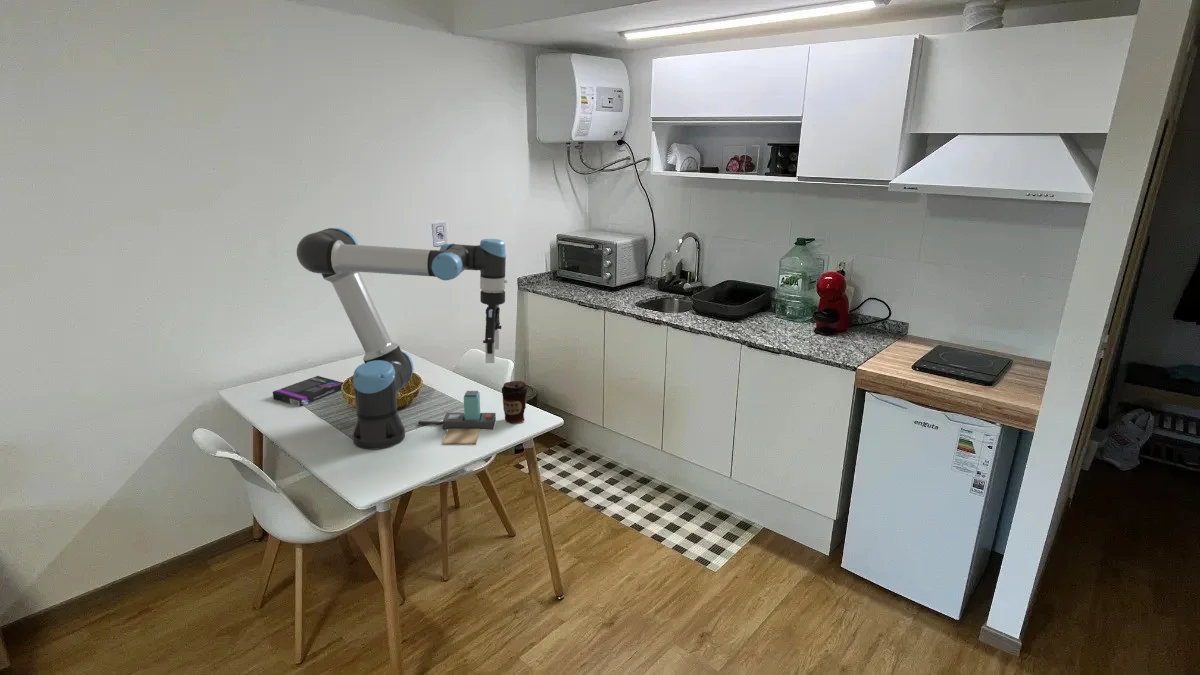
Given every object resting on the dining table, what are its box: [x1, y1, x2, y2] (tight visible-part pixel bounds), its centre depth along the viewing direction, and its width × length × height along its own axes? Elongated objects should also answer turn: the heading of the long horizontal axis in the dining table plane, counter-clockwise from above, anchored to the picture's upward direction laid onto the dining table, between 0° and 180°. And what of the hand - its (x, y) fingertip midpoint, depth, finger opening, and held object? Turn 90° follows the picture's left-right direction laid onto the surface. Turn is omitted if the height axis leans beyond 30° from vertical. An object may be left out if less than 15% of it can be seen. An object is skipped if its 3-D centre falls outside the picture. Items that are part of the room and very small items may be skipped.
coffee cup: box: [501, 380, 528, 425], centre depth 206 cm, size 9×8×13 cm
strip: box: [417, 412, 497, 431], centre depth 203 cm, size 25×7×3 cm, turn 93°
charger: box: [463, 390, 481, 421], centre depth 202 cm, size 4×4×11 cm
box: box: [272, 375, 343, 407], centre depth 225 cm, size 14×4×20 cm
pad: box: [442, 429, 481, 445], centre depth 195 cm, size 10×10×1 cm
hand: (492, 355), depth 198 cm, fingers open, 13 cm apart
